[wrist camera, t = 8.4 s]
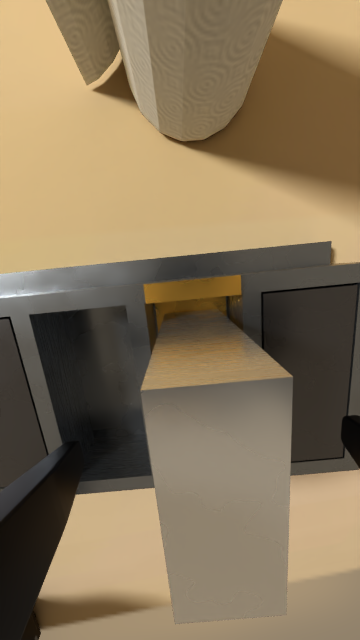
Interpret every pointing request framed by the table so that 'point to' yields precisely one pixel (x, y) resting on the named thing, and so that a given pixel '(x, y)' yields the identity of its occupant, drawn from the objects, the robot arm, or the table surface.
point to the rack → (138, 343)
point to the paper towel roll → (173, 54)
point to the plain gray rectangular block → (219, 467)
